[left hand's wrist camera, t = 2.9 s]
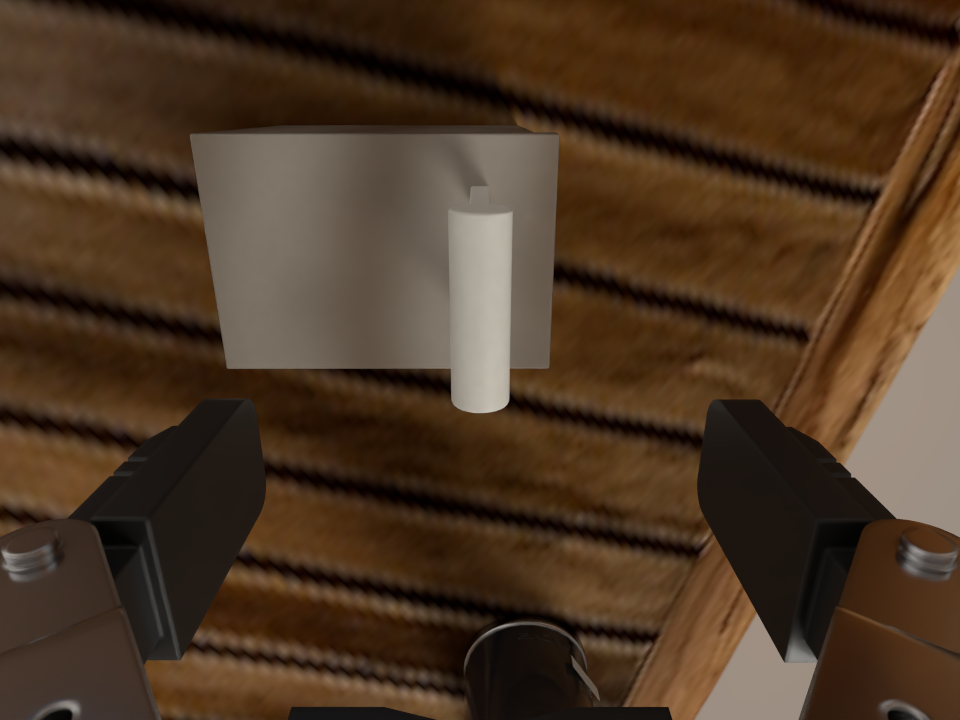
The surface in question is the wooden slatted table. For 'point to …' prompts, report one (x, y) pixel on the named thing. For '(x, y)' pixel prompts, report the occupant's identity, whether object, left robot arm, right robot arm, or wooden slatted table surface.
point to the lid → (383, 252)
